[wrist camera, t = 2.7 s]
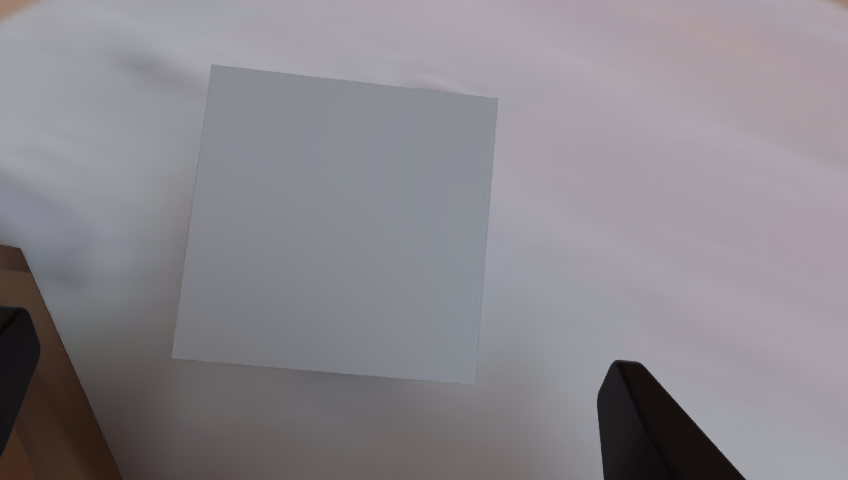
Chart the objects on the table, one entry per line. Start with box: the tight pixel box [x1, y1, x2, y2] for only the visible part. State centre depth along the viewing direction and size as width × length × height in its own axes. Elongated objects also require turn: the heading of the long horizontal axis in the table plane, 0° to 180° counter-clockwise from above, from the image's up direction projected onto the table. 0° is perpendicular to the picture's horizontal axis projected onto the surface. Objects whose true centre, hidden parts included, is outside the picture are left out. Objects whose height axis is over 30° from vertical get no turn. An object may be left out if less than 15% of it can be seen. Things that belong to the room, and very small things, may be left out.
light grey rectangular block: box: [171, 65, 498, 385], centre depth 15 cm, size 4×4×10 cm
